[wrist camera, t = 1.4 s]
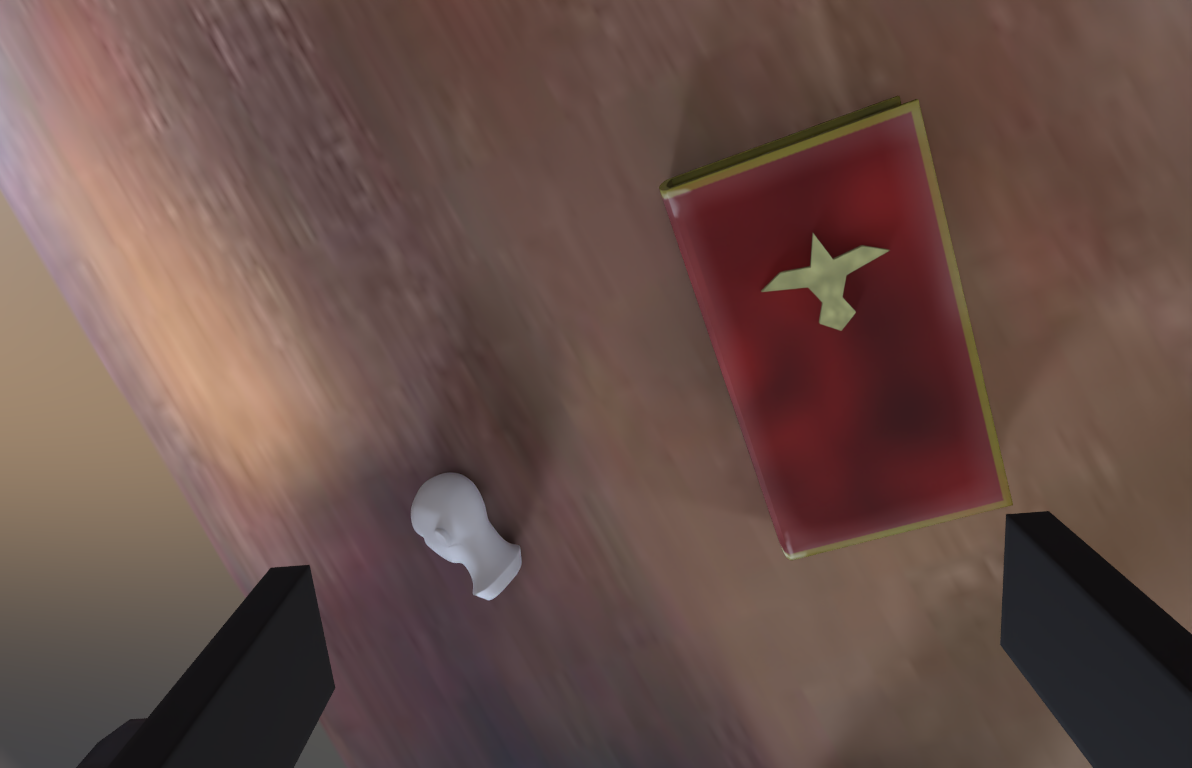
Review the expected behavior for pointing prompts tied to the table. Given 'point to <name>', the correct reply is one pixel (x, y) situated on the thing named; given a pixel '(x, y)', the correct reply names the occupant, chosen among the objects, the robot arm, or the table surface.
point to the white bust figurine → (464, 532)
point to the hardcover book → (842, 329)
